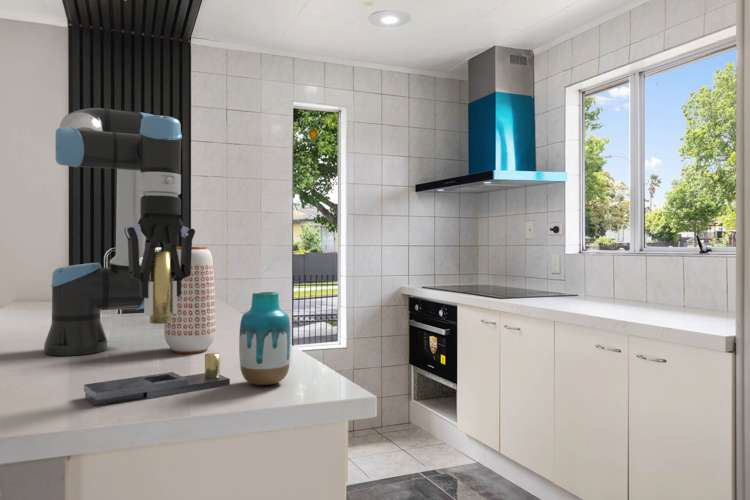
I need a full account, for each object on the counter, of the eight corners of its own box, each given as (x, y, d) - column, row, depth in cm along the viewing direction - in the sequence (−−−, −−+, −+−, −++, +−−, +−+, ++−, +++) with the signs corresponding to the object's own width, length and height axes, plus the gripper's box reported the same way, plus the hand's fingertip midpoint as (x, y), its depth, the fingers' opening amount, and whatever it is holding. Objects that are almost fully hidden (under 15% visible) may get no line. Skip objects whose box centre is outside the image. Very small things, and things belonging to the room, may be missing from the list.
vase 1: (161, 356, 150) (161, 247, 149) (167, 346, 163) (167, 246, 162) (214, 354, 153) (215, 247, 152) (216, 345, 166) (217, 246, 165)
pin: (146, 322, 115) (146, 251, 115) (166, 320, 118) (166, 251, 118) (154, 324, 112) (154, 251, 112) (174, 322, 115) (174, 251, 114)
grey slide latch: (83, 397, 110) (83, 366, 110) (212, 377, 127) (212, 350, 127) (96, 407, 104) (96, 373, 104) (229, 384, 121) (229, 355, 121)
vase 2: (266, 393, 114) (267, 296, 114) (228, 385, 120) (228, 293, 120) (300, 382, 123) (301, 292, 123) (263, 375, 129) (264, 289, 129)
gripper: (122, 191, 106) (121, 319, 106) (209, 197, 117) (209, 312, 118) (109, 194, 112) (109, 315, 112) (194, 199, 123) (193, 309, 123)
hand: (160, 313), depth 115 cm, fingers closed on pin, 4 cm apart
